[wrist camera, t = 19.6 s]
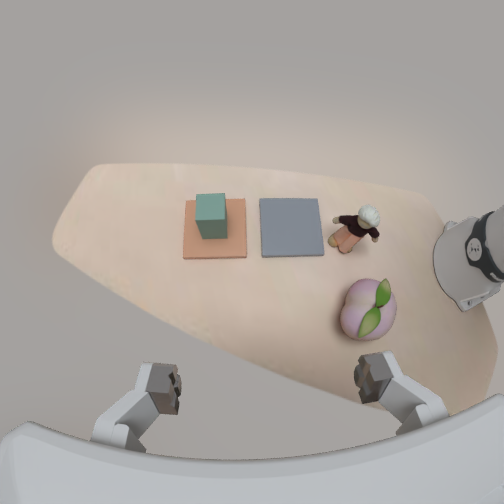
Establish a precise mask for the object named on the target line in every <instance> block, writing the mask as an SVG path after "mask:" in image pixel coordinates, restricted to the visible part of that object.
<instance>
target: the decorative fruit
mask: <svg viewBox="0 0 504 504" xmlns="http://www.w3.org/2000/svg"><path fill="white" fill-rule="evenodd" d="M396 310H397V305H396V300H395V297H394V295H393V293H392V292H391V288H390V284H389V282H388V280H387V279H384V280H383V281H382V282H379V281H377V280H373V279H361V280H359V281H357V282H355V283H354V284H353V285H352V286H351V288H350V289H349V291H348V293H347V296H346V299H345V305H344V307H343V308H342V311H341V316H340V321H341V326H342V329H343V331H344V332H345V334H346V335H348V336H349V337H350V338H352V339H356V340H364V341H370V340H376V339H379V338H381V337H382V336H384V335H385V334H386V333H387V332H388V331H389V330H390V328H391V327H392V325H393V322H394V319H395V315H396Z"/></svg>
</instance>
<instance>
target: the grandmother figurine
mask: <svg viewBox="0 0 504 504" xmlns="http://www.w3.org/2000/svg"><path fill="white" fill-rule="evenodd" d="M358 214H359V215H355V216H350V215H346V216H339V217H335V218H333V223H334V224H338V223H342V224H344V225H345V226H343V227H342V228H340V229H339V230H338V231H337V232H336V233H334V234H333V235H331V236H330V237H329V239H328V243H329V245H331V246H332V247H337V246H339V249H340V251H341V252H343V253H349V252H351V251H352V246H353V245H355V244H356V243H357V242H358V241H359V240H360V239H361V238H363V237H364V236H365V235H366V234H367V233H369V235H370V236H371V237H372V241H373V242H377V241H378V237H379V232H378V231H377V229H376V228H375V227H377V226H378V225H379V222H380V216H379V213H378V211H377V210H376V208H375V207H372V206H371V205H365V206H362V207H361V209H360V210H359V212H358Z"/></svg>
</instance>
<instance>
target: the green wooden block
mask: <svg viewBox="0 0 504 504" xmlns="http://www.w3.org/2000/svg"><path fill="white" fill-rule="evenodd" d="M195 221H196V224H197V226H198V229H199V231H200V234H201V237H202V239H228V234H227V208H226V200H225V193H219V194H196V213H195Z"/></svg>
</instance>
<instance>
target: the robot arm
mask: <svg viewBox="0 0 504 504" xmlns="http://www.w3.org/2000/svg"><path fill="white" fill-rule="evenodd" d="M434 268H435V273H436V276H437V279H438V281H439V283H440V285H441V287H442V288H443V290H444V291H445V292H446V293H447V294H448V295H449V296H450V297H451V298H453V299H454V300H455V301H456V303H457V305H458V306H459V308H460V309H461V311H463V312H464V311H467V310H469V309H471V308H472V307H474V306H476V305H478V304H479V303H481V302H483V301H484V300H486V299H487V298H489V297H491V296H492V295H494V294H496V293H497V292H499V291H500V287H501V284H502V283H503V282H504V205H503V206H502V207H501V208H500V209H498V210H497V211H494V212H493V211H492V212H489V213H487V214H485V215H483V216H482V217H481V218H480V219H478V218H475V217H473V216H471V217H469V218H467V219H465V220H463V221H462V222H459V223H456V222H453V221H449V222H447V223H446V225H445V228H444V232H443V234H442V235H441V236H440V238H439V239H438V241H437V243H436V245H435V249H434ZM358 361H359V365H357V366H356V368H355V371H354V380H355V384H356V386H358V387H359V388H360V391H359V395H360V398H361V401H362V404H365V403H370V402H376V401H378V402H379V403H380V404H381V405H382V406H384V407H385V408H386V409H387V410H388V411H389V412H390V413H391V414H392V415H393V416H395V417H396V418H397V419H398V420H399V421H400V422H401V423H402V425H401V426H400V427H399V429H398V430H397V431H396V435H397V436H395V437H391V438H388V439H384V440H381V441H377V442H374V443H369V444H365V445H361V446H356V447H352V448H347V449H342V450H336V451H331V452H325V453H319V454H312V455H304V456H296V457H285V458H273V459H254V460H214V459H194V458H182V457H172V456H164V455H156V454H149V453H146V449H145V447H144V446H143V445H142V444H141V443H140V441H139V440H138V439H139V438H140V436H141V435H142V434H143V433H144V432H145V431H146V430H147V429H148V427H149V426H150V425H151V424H152V423H153V422H154V421H155V419H156V418H157V417H158V416H159V414H173V415H177V414H178V409H179V401H178V397H179V396H180V395H181V378H180V375H178V374H177V372H178V369H177V366H176V365H173V364H161V363H150V362H143V363H142V364H141V367H140V370H139V374H138V377H137V381H136V384H135V387H134V390H130V391H129V392H128V393H127V394H126V395H124V396H123V397H122V398H121V399H120V400H118V401H117V402H116V403H115V404H114V405H113V406H111V407H110V408H109V409H108V410H107V411H105V412H104V413H103V414H102V415H101V416H99V417H98V418H97V421H96V424H95V427H94V430H93V433H92V437H91V440H90V441H88V440H84V439H81V438H78V437H74V436H71V435H68V434H65V433H62V432H59V431H56V430H53V429H51V428H48V427H45V426H43V425H40V424H38V423H35V422H32V421H27V422H24V423H22V424H21V425H19V426H17V427H16V428H14V429H13V430H11V431H10V432H8V433H7V434H6V435H5V437H4V438H3V439H2V441H1V443H0V504H504V395H502V394H495V395H493V396H491V397H489V398H487V399H486V400H484V401H482V402H480V403H478V404H476V405H474V406H472V407H470V408H468V409H466V410H463V411H461V412H459V413H457V414H455V415H452V416H449V414H448V412H447V410H446V407H445V405H444V403H443V401H442V399H441V397H439V396H438V395H436V394H435V393H433V392H432V391H430V390H428V389H427V388H425V387H424V386H422V385H421V384H419V383H418V382H416V381H415V380H413V379H412V378H410V377H409V376H407V375H403V373H402V371H401V369H400V367H399V365H398V363H397V361H396V359H395V357H394V355H393V353H392V352H391V351H385V352H378V353H372V354H366V355H361V356H360V357H359V360H358Z"/></svg>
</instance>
